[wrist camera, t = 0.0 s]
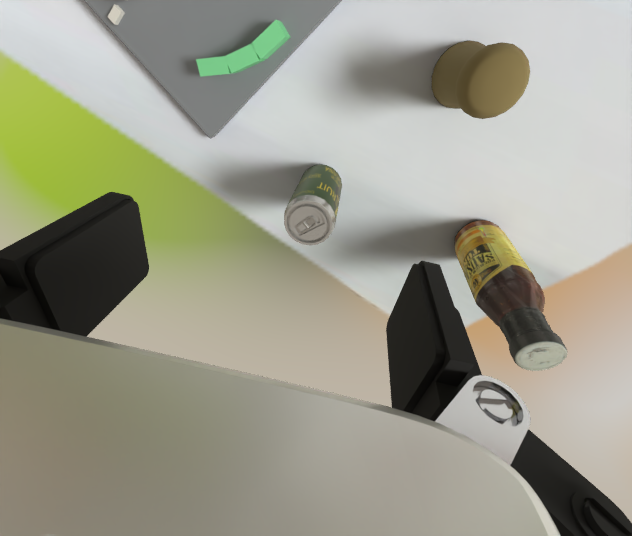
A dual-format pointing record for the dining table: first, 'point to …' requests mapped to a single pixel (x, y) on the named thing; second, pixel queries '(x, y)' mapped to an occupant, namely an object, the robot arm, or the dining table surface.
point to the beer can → (314, 206)
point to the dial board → (212, 46)
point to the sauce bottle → (508, 294)
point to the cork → (481, 78)
